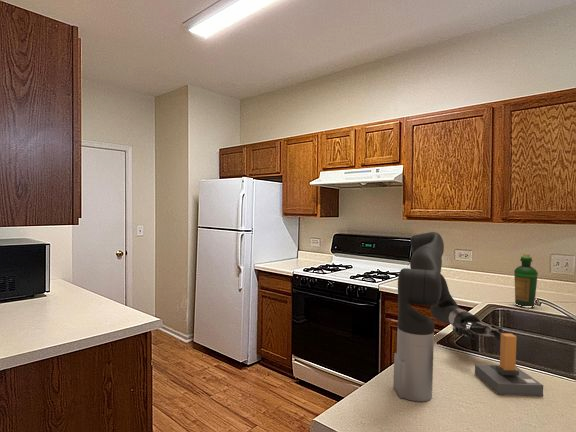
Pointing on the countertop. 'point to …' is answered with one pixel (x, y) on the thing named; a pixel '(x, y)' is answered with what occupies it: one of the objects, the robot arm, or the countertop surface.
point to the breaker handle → (507, 355)
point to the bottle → (525, 282)
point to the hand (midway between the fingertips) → (488, 337)
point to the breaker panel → (509, 381)
